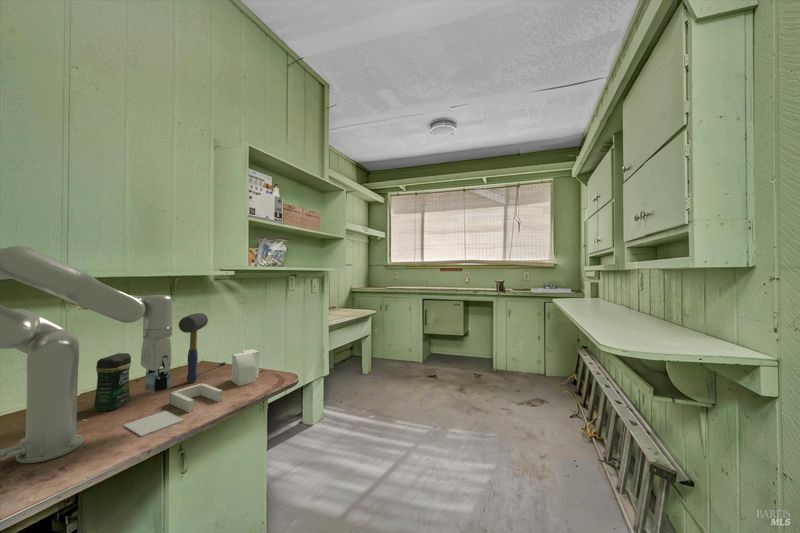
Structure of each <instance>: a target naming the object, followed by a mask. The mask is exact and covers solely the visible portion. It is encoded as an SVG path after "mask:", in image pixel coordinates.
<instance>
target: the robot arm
mask: <svg viewBox="0 0 800 533" xmlns="http://www.w3.org/2000/svg"><path fill="white" fill-rule="evenodd" d="M9 279H12V280H14V281H17V282H19V283H21V284H23V285H24V284H25V285H28V286H30V287H32V288H35V289H37V290H41V291H43V292H45V293H47V294H50V295H52V296H55V297H58V298H60V299H62V300H65V301H66V302H69V303H73V304H75V305H78V306H80V307H83V308H85V309H88V310H90V311H92V312H94V313H97V314H100V315H102V316H105V317H108V318H109V319H113V320H115V321H117V322H120V323H125V324H126V323H129V324H130V323H135V322H137V321H139V320H141V319H142V344H141V345H142V346H141V352H140V354H141V355H140V356H141V357H140V366H141V367H142V368H144V369H146V370H145V375H146V374H149V373H153V372H156V378H157V379H155V391H156V392H155V393H159V392H162V391H165V390H168V389H167V377H168V373H170V372H171V365H172V342H171V337H172V336H173V335H172V333H173V332H172V331H173V298H172V296H171V295H168V294H153V295H152V294H151V295H132V294H130V295H129V294H127V293H125V292H123V291H120V290H118V289H116V288H114V287H112V286H110V285H107V284H105V283H104V282H102V281H100V280H98V279H97V278H95V277H94V276H92V275H91V274H89V273H87V272H85V271H83V270H80V269H78V268H76V267H73V266H72V265H69V264H66V263H64V262H62V261H60V260H57V259H56V258H53V257H51V256H49V255H47V254H44V253H42V252H40V251H38V250H37V249H35V248H32V247H30V246H25V245H11V246H8V247H4V248H2V247H1V248H0V281H1V280H3V281H4V280H9ZM79 343H80V342H79V339H78V337H77V336H76V335H75V334H74V333H73V332H72V331H69V330H67V329H65V328H64V327H61V326H60V325H58V324H55V323H54V322H52V321H50V320H48V319H46V318H45V317H43V316H40V315H39V314H37V313H35V312H32V311H30V310H27V309H22V308H8V307H7V306H4V305H2V304H0V350H11V349H15V350H17V351H20V352H22V353H24V354H25V355H26V354H27V357H26V408H25V409H26V413H25V437H23V438H21V439H20V440H21V441H20V442H18V443H16V444H15V445H13V446H9V447H5V448H2V449H0V459H1V458H5V457H6V459H10V458H13V457H15V461H16V462H18V463H21V464H33V463H41V462H45V461H46V462H47V461H49V460H53V459H56V458H58V457H63V456H65V455H67V454H69V453H71V452H73V451H75V450H76V449H78V448H79V447H81V446H82V445H83V443H84V437H83V435H81V434H78V433H77V418H78V416H77V415H78V412H77V411H78V388H79V387H78V386H79V385H78V384H79V382H78V380H79V361H80V344H79ZM162 370H163V371H162ZM159 371H162V372H161V373H160V372H159ZM161 390H162V391H161Z"/></svg>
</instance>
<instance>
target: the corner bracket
mask: <svg viewBox="0 0 800 533" xmlns="http://www.w3.org/2000/svg"><path fill="white" fill-rule="evenodd" d="M231 357H232V358H231V382H232V383H234V384H235V385H237V386H238V387H239V386H240V387H241V386H245V385H248V384H252V383H256V382H257V377H258V378H259V369H260V368H259V367H260V351H259V350H256V349H254V348H251V349H245V350H241V352H239V353H234V354H232V356H231Z"/></svg>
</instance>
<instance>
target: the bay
mask: <svg viewBox="0 0 800 533" xmlns="http://www.w3.org/2000/svg"><path fill="white" fill-rule="evenodd" d="M199 396H202V397H204V398H206V399H207V398H208V399H210V400H212V401H215V402H217V403H220V402H222V401H223V389H220V388H218V387H215V386H212V385H210V384H206V383H203V382H202V383H198V384H194V385H191V386H188V387H184V388H181V389H177V390H174V391H171V392H169V397H168V398H169V399H168V404H169V403H170V404H169V405H171V406H174V407H176V408H178V409H180V410H182V411H184V410H185V412H187V413H192V412H194V405H195V404H194V401H195V400H194V399H193V398H196V397H199ZM191 411H192V412H191Z"/></svg>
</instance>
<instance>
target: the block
mask: <svg viewBox="0 0 800 533" xmlns="http://www.w3.org/2000/svg"><path fill="white" fill-rule="evenodd" d="M162 371H163V370H161V371H159V372H160V373H161V372H162ZM171 373H172V372H169V373H168V377H167V389H166V390H168V389H171V378H172V377H171V375H172V374H171ZM155 379H157V378H156V372H153V373H149V374H146V373H145V379H144V380H145V382H144V384H145V388H144V389H145V390H146V391H147V392H150V393H152V394H154V393H157V392H156V391H155ZM162 391H163V390H161V391H160V392H162Z"/></svg>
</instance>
